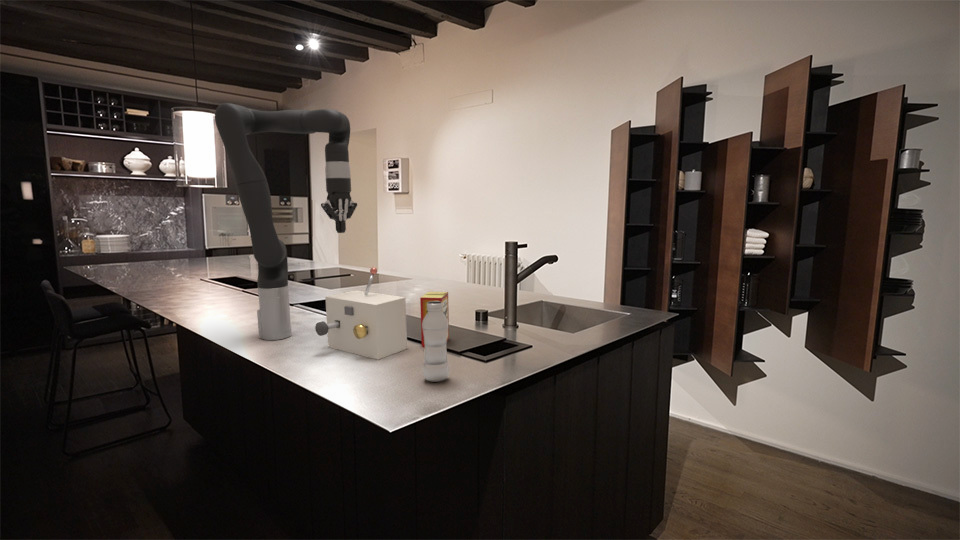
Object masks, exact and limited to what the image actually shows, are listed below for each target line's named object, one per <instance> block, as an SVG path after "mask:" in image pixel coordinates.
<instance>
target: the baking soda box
mask: <svg viewBox="0 0 960 540" xmlns="http://www.w3.org/2000/svg"><path fill="white" fill-rule="evenodd" d="M419 299H420V301H419V303H420V335H421V348H425V344H424V335H423V328H422V322H423V319H424V318H425V316H426V314H427V313H428V311H427V302H430V301H440V302H442V307H443V310H442V313H443V314H444V315H445V317H446V318H447V320H448V332H447V340H448V339H449V340H450V323H449V321H450V317H449V315H450V313H449V310H450V309H449V291H427V292H426V293H425V294H423V295H422V296H421V297H420V298H419ZM449 340H448V341H449Z"/></svg>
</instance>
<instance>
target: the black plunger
mask: <svg viewBox="0 0 960 540" xmlns="http://www.w3.org/2000/svg"><path fill="white" fill-rule="evenodd" d="M339 326H340V322H339V321H338V322H334V323H330V324H327V321H323V320H322V321H319V322H316V324H315V326H314V327H315V332H316V334H317V335H318V336H319V337H321V336H324V335H325V336H326V335H328V330H329V329H332V328H336V327H339Z"/></svg>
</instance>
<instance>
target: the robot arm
mask: <svg viewBox="0 0 960 540" xmlns="http://www.w3.org/2000/svg"><path fill="white" fill-rule="evenodd" d="M214 121H215V122H214V123H215V125H216V128H217V131H218V134H219V136H220V139H221V142H222V143H223V147H224V149H225V151H226V155H227V158H228V159H227V160H228V163H229V165H230V170H231V172H232V175H233V179H234V184H235V187H236V191H237V196H238V198H239V201H240V205H241V208H242V211H243V215H244V216H245V220H246V222H247V225H248V229H249V235H250V240H251V247H252V253H253V257H254V259H255V261H256V262H257V269H258V270H257V271H258V273H257V291H258V292H257V293H258V304H259V309H258V310H256V315H257V317H256V318H257V326H258V327H257V329H258V338H259V339H262V340H265V341H277V340H282V339H283V340H284V339H287V338H289V337H291V336H292V323H291V319H292V318H291V307H290V295H289V282H288V281H289V267H288V266H289V265H288V252H287V251H288V250H287V247H286V245H285V242H283V240H281V239H280V238H279V236H278V234H277V231H276V228H275V223H274V221H273V207H272V205H273V204H272V198H271V196H272V195H271V190H270V187H269V183H268V179H267V177H266V175H265V172H264V170H263V168H262V166H261V165H260V164H259V162H258V161H257V159H256V157H255V156H254V155H253V153H252V150H251V149H250V146H249V142H248V139H247V136H248V135H254V134H260V133H284V134H297V135H298V134H299V135H301V134H302V135H304V134H306V135H308V134H309V135H310V134H315V133H326V134H328V143H326V144H325V147H324V158H325V167H324V174H325V188H326V194H327V196H326V200H325V202H322V203H320V207H321V208H322V210H323V211H324V212H325V214H326V215H327V217H328V218H329V219H330V220H333V221H335V222H334V223H335V232H336V233H337V234H344V233H345V232H346V230H347V227H346V225H347V224H346V221H347V220H348V219H352V215H353V214H354V212H355V211H356V208H357V207H358V203H357V202H354V201H353V200H352V196H351V192H352V179H351V167H350V159H349V157H350V156H349V143H350V138H351V124H350V119H349V118H348V117H347V115H346V114H344V113H343V112H340V111H338V110H337V109H332V108H320V109H313V110H311V109H310V110H308V109H284V110H283V109H282V110H275V111H268V110H267V111H266V110H257V109H253V108H249V107H246V106H244V105H240V104H236V103H235V104H234V103H231V102H223V103H221V104H219V105H218V106H217V107H216V109H215V112H214Z"/></svg>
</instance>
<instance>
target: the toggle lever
mask: <svg viewBox="0 0 960 540" xmlns="http://www.w3.org/2000/svg"><path fill="white" fill-rule="evenodd" d="M369 273H370V276H369V279H368V281H367V284H366V288H365V291H364V292H365V293H364V294H365V295H366V296H367V295H368V292H370V289H371V286H372V283H373V280H374V277H375V275H376V274H377V273H378V268H376V267H371V268H370V269H369Z"/></svg>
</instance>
